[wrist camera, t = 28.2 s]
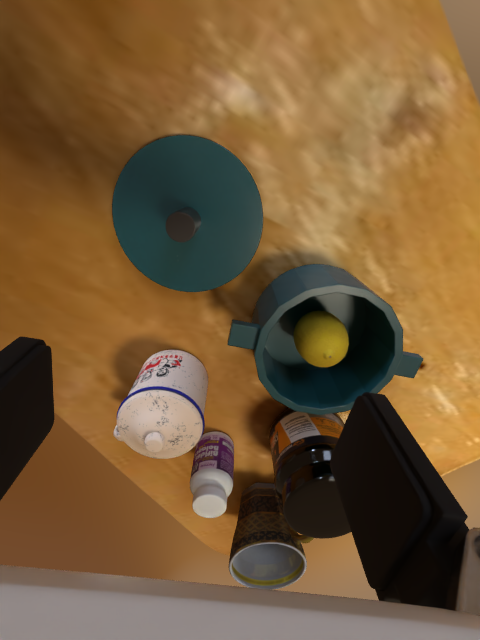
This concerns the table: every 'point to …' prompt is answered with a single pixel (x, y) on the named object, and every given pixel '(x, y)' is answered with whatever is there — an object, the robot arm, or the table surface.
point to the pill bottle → (212, 474)
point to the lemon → (321, 338)
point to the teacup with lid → (164, 406)
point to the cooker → (363, 335)
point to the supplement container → (308, 472)
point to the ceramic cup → (265, 542)
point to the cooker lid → (187, 213)
